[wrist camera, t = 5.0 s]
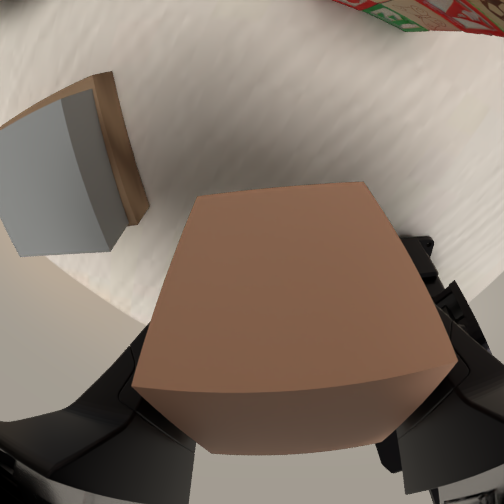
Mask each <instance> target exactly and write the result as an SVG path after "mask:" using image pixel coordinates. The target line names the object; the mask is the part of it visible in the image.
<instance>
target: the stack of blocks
mask: <svg viewBox="0 0 504 504" xmlns="http://www.w3.org/2000/svg"><path fill="white" fill-rule="evenodd" d="M333 1H336V2H339V3H341V4H344V5H347V6H349V7H352V8H355V9H357V10H361V11H364V12H366V13H368V14H371V15H373V16H375V17H377V18H379V19H381V20H383V21H385V22H387V23H389V24H391V25H393V26H395V27H397V28H399V29H401V30H403V31H405V32H421V31H430V30H433V31H464V32H466V33H474V34H485V35H490V36H492V35H495V36H499V37H504V0H333Z"/></svg>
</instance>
